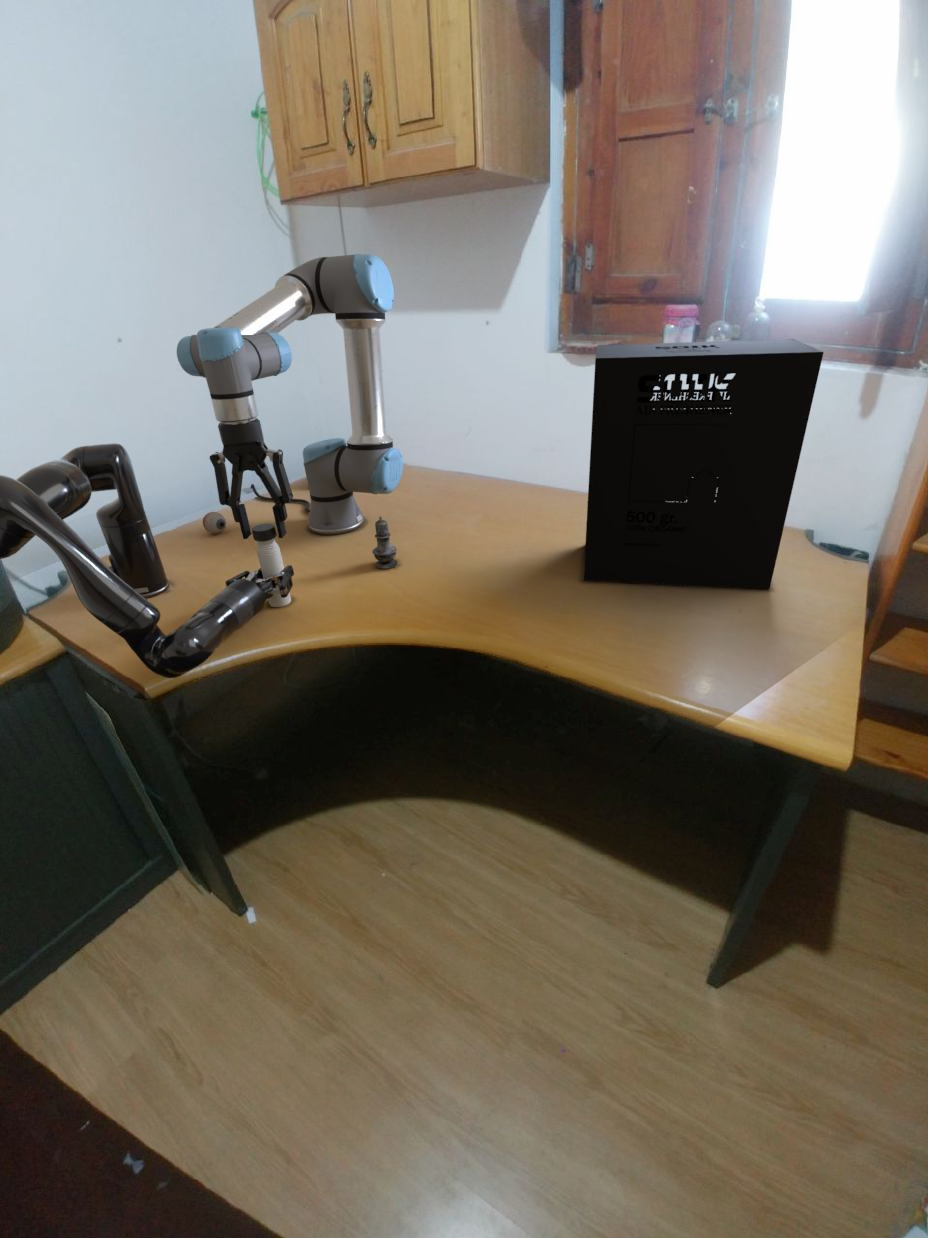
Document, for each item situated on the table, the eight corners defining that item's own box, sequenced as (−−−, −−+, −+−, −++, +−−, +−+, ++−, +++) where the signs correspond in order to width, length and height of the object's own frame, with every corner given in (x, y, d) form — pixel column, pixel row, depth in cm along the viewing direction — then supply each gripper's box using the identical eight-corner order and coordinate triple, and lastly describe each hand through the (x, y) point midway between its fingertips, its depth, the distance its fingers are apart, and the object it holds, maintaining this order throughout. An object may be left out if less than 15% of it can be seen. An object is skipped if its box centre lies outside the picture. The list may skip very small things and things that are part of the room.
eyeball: (216, 538, 165) (210, 517, 162) (201, 534, 168) (195, 514, 165) (233, 531, 169) (228, 510, 166) (219, 527, 172) (213, 507, 169)
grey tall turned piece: (394, 569, 142) (388, 521, 136) (370, 568, 143) (363, 520, 137) (401, 559, 147) (396, 512, 141) (378, 558, 148) (372, 511, 142)
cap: (256, 533, 125) (254, 523, 124) (278, 532, 125) (276, 522, 124) (251, 542, 121) (248, 532, 120) (274, 540, 121) (271, 530, 120)
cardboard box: (750, 549, 141) (792, 338, 119) (769, 589, 124) (823, 351, 101) (586, 544, 149) (597, 345, 126) (583, 580, 132) (595, 358, 109)
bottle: (295, 600, 131) (279, 528, 122) (277, 609, 128) (260, 535, 119) (283, 595, 133) (266, 523, 125) (265, 603, 130) (247, 530, 122)
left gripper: (263, 591, 112) (307, 554, 126) (197, 586, 115) (247, 550, 129) (272, 626, 115) (313, 586, 130) (208, 620, 119) (255, 581, 133)
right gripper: (296, 413, 114) (317, 527, 126) (195, 417, 115) (225, 530, 127) (283, 422, 108) (307, 541, 119) (177, 426, 109) (211, 544, 120)
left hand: (280, 568), depth 129 cm, fingers closed on bottle, 4 cm apart
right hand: (265, 535), depth 123 cm, fingers open, 7 cm apart
